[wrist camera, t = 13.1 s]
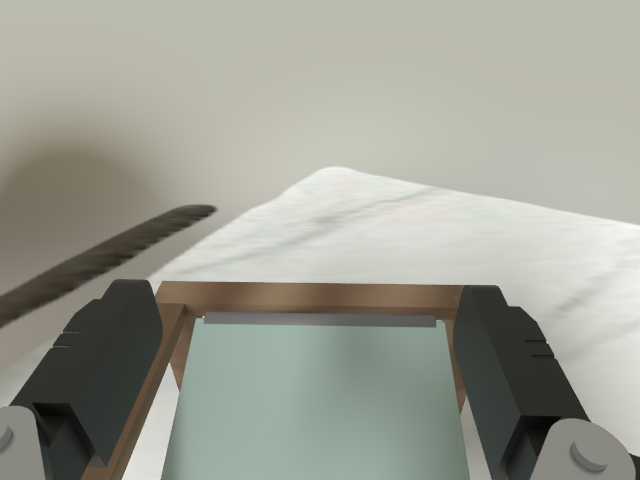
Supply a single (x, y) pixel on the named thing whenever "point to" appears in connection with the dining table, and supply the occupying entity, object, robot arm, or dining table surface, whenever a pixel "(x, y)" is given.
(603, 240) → the dining table surface
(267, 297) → the trapdoor frame
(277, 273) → the dining table surface
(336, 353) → the trapdoor
